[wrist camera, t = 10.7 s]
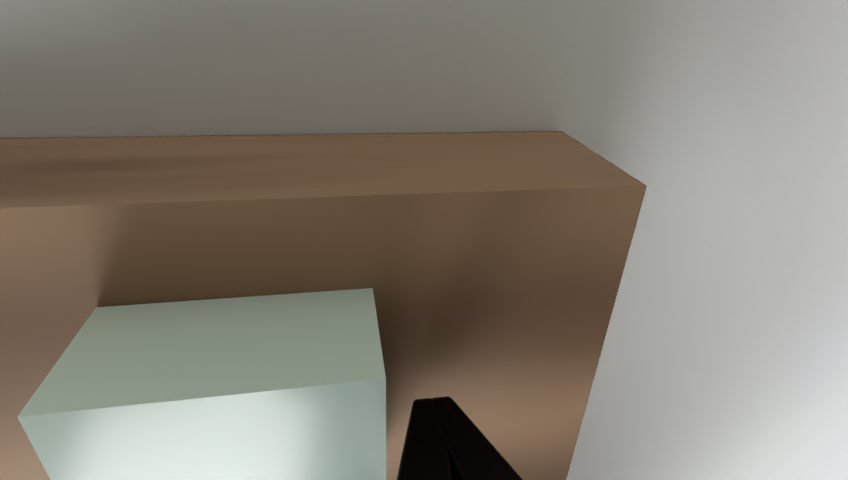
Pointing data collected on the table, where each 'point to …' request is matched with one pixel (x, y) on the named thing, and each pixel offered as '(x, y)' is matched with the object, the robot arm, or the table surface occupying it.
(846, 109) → the table surface
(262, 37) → the table surface
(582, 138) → the table surface
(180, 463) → the tile
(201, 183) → the tan bevelled block
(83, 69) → the table surface
